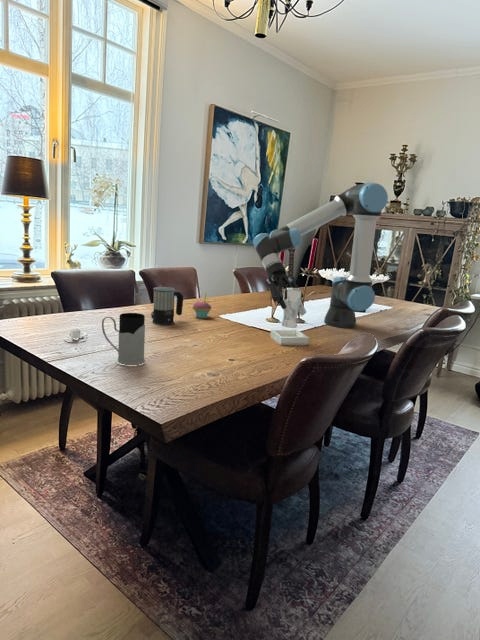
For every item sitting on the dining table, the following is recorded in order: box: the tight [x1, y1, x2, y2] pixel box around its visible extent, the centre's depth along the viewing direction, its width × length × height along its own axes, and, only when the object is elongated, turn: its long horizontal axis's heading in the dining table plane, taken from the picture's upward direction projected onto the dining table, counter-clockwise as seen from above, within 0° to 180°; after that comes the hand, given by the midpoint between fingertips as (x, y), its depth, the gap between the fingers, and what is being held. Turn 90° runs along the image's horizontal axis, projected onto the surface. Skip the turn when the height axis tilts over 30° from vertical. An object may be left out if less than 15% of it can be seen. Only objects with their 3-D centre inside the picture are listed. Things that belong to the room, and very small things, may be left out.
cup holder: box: [269, 329, 310, 346], centre depth 174 cm, size 12×12×3 cm
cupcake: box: [192, 292, 212, 319], centre depth 201 cm, size 9×8×12 cm
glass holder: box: [101, 312, 146, 365], centre depth 135 cm, size 9×14×15 cm, turn 80°
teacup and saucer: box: [69, 328, 88, 340], centre depth 153 cm, size 9×8×4 cm
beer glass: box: [281, 287, 303, 329], centre depth 171 cm, size 7×7×15 cm
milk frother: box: [150, 286, 184, 325], centre depth 189 cm, size 14×16×15 cm
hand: (296, 314), depth 169 cm, fingers closed on beer glass, 7 cm apart
